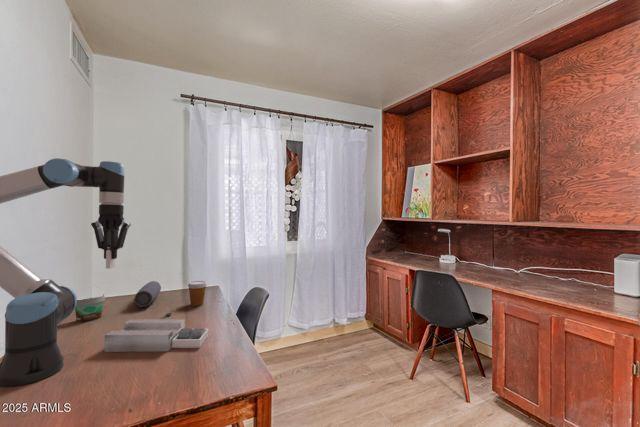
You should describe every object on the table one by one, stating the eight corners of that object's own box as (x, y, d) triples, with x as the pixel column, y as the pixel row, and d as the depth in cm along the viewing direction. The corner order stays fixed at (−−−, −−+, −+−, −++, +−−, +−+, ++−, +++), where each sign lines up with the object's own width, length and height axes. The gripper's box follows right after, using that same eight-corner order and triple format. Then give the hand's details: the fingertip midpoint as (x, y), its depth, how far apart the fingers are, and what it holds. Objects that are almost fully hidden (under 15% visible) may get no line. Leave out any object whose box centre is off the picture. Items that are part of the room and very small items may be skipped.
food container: (76, 325, 133) (77, 302, 133) (72, 321, 137) (72, 299, 137) (109, 317, 143) (109, 296, 143) (104, 314, 147) (104, 294, 147)
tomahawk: (145, 334, 127) (145, 332, 127) (132, 331, 129) (132, 328, 129) (180, 317, 147) (180, 314, 147) (168, 314, 149) (169, 312, 149)
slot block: (167, 351, 110) (168, 334, 110) (104, 351, 109) (104, 335, 109) (184, 333, 126) (184, 319, 126) (129, 334, 125) (129, 319, 125)
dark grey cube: (190, 342, 116) (201, 342, 117) (190, 332, 116) (201, 332, 117) (194, 338, 120) (204, 338, 121) (194, 328, 120) (204, 328, 121)
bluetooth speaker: (144, 297, 176) (144, 280, 176) (161, 296, 179) (162, 279, 179) (132, 310, 154) (133, 290, 154) (153, 308, 157) (153, 289, 157)
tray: (199, 347, 113) (200, 339, 113) (172, 348, 113) (172, 340, 113) (208, 335, 124) (208, 328, 124) (183, 336, 124) (183, 328, 124)
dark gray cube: (189, 342, 117) (189, 332, 117) (178, 343, 116) (178, 332, 116) (192, 338, 121) (192, 328, 121) (181, 338, 120) (181, 328, 120)
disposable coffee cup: (187, 303, 168) (187, 281, 168) (205, 301, 172) (206, 280, 172) (187, 308, 159) (188, 285, 159) (206, 306, 163) (207, 283, 163)
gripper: (135, 204, 117) (133, 266, 117) (99, 203, 116) (98, 265, 116) (124, 204, 109) (122, 269, 109) (86, 203, 108) (84, 269, 108)
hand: (110, 267), depth 113 cm, fingers closed
